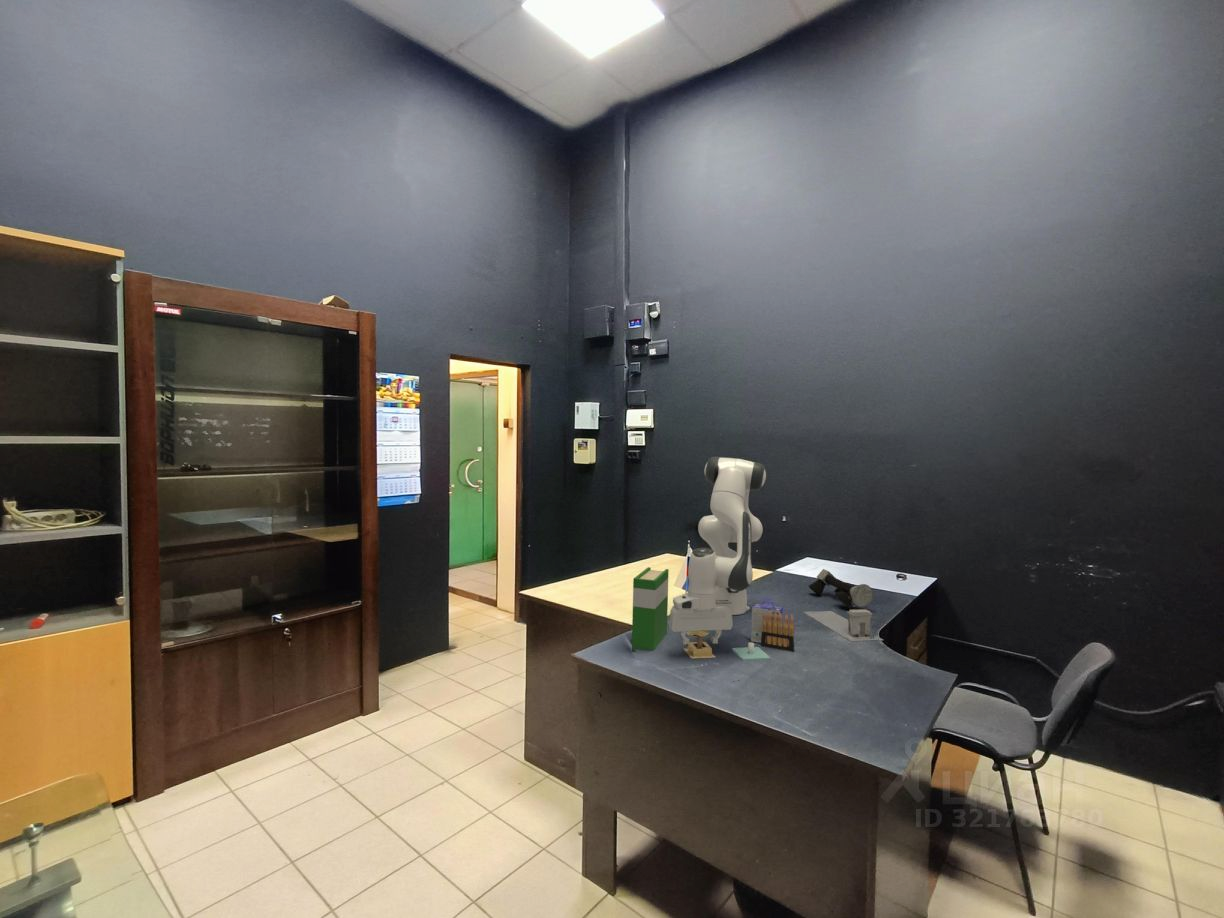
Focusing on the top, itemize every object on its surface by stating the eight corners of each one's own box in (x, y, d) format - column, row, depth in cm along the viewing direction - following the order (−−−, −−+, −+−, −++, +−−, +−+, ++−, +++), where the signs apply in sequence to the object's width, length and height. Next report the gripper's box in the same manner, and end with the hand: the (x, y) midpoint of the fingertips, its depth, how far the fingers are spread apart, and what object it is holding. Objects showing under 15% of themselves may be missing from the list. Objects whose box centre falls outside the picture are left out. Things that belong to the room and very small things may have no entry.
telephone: (866, 626, 229) (825, 603, 258) (886, 602, 230) (842, 582, 259) (842, 603, 226) (803, 582, 255) (862, 579, 227) (821, 561, 256)
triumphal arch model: (851, 643, 194) (852, 615, 194) (803, 613, 226) (804, 590, 226) (883, 641, 196) (884, 614, 196) (831, 612, 229) (832, 589, 228)
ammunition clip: (760, 646, 188) (761, 611, 187) (761, 644, 189) (762, 609, 189) (793, 651, 183) (794, 615, 183) (794, 650, 185) (795, 614, 185)
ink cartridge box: (782, 641, 192) (783, 600, 192) (780, 647, 187) (781, 604, 187) (753, 636, 197) (755, 596, 196) (750, 641, 192) (751, 600, 191)
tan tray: (687, 649, 179) (687, 642, 179) (705, 648, 180) (705, 641, 180) (693, 656, 173) (693, 649, 173) (711, 656, 174) (711, 648, 174)
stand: (683, 653, 180) (684, 633, 180) (707, 652, 181) (707, 632, 181) (691, 663, 172) (691, 642, 172) (715, 661, 173) (716, 641, 173)
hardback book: (646, 634, 197) (648, 567, 196) (666, 637, 194) (668, 569, 193) (631, 652, 180) (633, 578, 179) (653, 655, 178) (655, 580, 177)
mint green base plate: (731, 654, 180) (732, 638, 180) (757, 653, 181) (758, 637, 181) (742, 665, 171) (743, 649, 171) (770, 663, 173) (770, 648, 172)
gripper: (728, 596, 181) (727, 639, 181) (668, 598, 177) (667, 641, 177) (736, 602, 174) (735, 646, 175) (673, 603, 171) (672, 648, 171)
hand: (700, 643), depth 176 cm, fingers open, 8 cm apart
